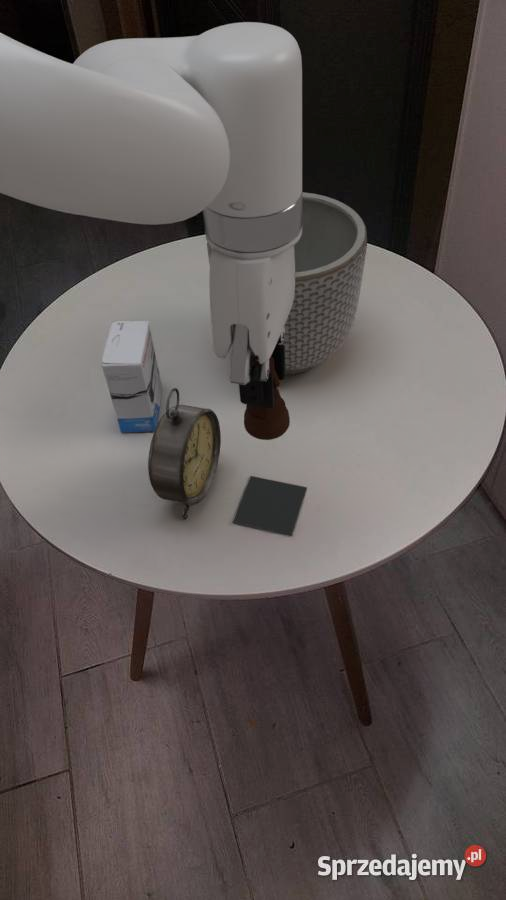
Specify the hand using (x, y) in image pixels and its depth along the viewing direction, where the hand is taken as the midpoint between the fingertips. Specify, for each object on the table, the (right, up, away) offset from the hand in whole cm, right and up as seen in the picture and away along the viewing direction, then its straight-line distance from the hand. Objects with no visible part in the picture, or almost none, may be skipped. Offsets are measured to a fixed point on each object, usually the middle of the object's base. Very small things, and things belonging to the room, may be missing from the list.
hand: (263, 388), depth 66 cm
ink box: (-16, -1, +26) cm, 30 cm away
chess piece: (0, -3, +4) cm, 5 cm away
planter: (+4, +8, +32) cm, 33 cm away
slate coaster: (+1, -12, +14) cm, 19 cm away
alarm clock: (-8, -11, +17) cm, 21 cm away
